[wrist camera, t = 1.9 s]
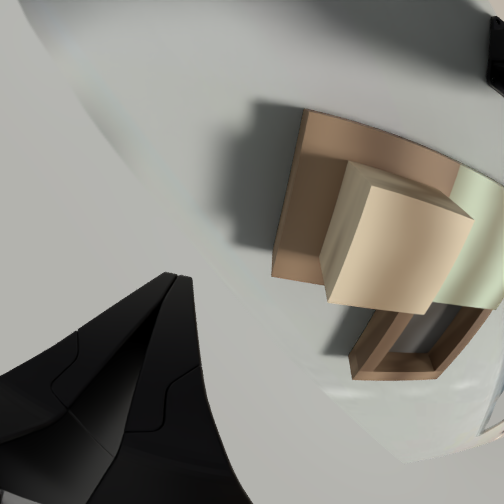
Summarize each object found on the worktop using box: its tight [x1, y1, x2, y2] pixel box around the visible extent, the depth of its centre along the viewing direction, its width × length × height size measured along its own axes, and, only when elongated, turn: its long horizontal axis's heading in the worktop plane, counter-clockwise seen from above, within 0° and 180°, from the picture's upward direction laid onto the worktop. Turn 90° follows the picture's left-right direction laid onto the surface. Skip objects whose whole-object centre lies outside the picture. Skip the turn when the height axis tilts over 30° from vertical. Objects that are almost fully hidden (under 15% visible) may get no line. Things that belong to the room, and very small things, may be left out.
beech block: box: [319, 160, 475, 315], centre depth 13 cm, size 6×6×4 cm
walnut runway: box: [271, 108, 504, 381], centre depth 19 cm, size 34×20×3 cm, turn 81°
